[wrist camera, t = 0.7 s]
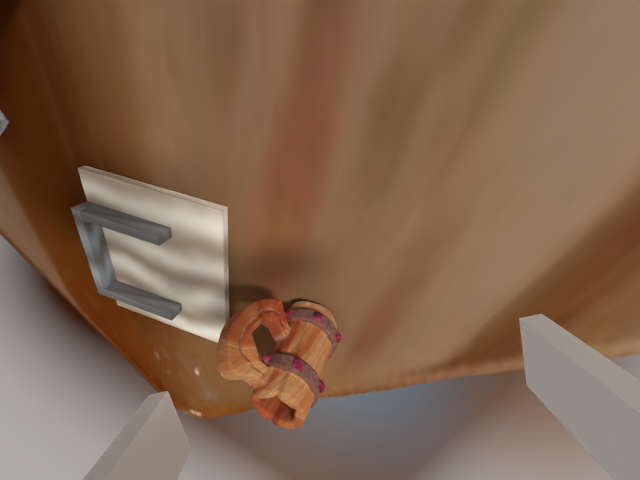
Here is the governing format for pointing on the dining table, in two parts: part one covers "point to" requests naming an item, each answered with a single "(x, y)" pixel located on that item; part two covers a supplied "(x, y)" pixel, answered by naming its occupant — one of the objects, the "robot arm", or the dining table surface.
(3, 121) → the book
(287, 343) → the mug
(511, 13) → the dining table surface
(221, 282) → the notched board
